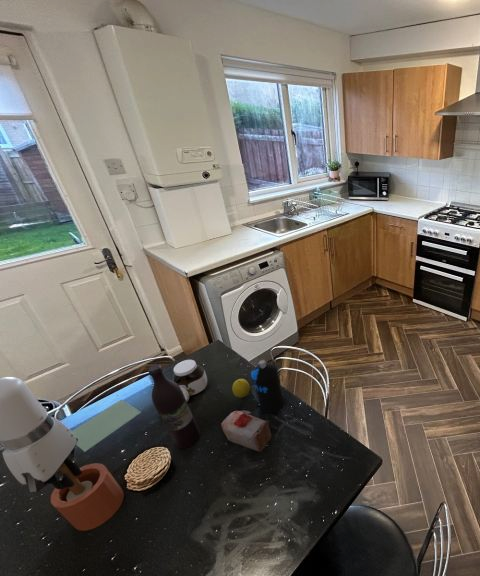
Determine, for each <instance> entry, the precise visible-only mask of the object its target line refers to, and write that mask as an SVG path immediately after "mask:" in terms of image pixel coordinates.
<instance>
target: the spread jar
mask: <svg viewBox="0 0 480 576" xmlns="http://www.w3.org/2000/svg"><path fill="white" fill-rule="evenodd" d="M171 381H173V382H175V383H177V384H178V386H179V387H180V388H181V390H182V392H183V394H184V396H185V399H186V401H187V402H188V401H189V399H190V398H192V397H196V396H198V395H200V394H201V393H203V392H204V390H205V389H206V388H207V386H208V376H207V373H206V370H205V368H204V367H203V366H202V365H201V364H198V363H197V362H196V360H193V359H185V360H182V361H180V362H178V363H177V364H175V366H174V367H173V375H172V378H171Z"/></svg>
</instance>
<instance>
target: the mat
mask: <svg viewBox="0 0 480 576" xmlns="http://www.w3.org/2000/svg"><path fill="white" fill-rule="evenodd" d="M141 413H142V412H141V411H140V410H138V409H137V408H135V407H133V406H132V405H131V404H129V403H128V402H127V401H124V400H123V399H120V400H118V401H117V402H115V403H114V404H112V405H111V406H108V407H107V408H106V409H104V410H103V411H101V412H100V413H98V414H97V415H95V416H94V417H91V418H90V419H89V420H87V421H86V422H84V423H82V424H81V425H79V426H77V427H76V428H75V429H73V430H71V432H72V433H73V434H74V436H75V438H77V439H78V441H77V444H76V446H77V447H78V448H79V449H80V450H82V451H83V452H84V453H86V452H87V451H88V450H90V449H91V448H93V447H94V446H96V445H97V444H99V443H100V442H101V441H103V440H105V439H106V438H107V437H109V436H110V435H111V434H113V433H114V432H115V431H117V430H118V429H120V428H121V427H123V426H124V425H126V424H127V423H128V422H129V421H131V420H133V419H134V418H135V417H137V416H138V415H140V414H141Z"/></svg>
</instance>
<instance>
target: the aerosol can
mask: <svg viewBox="0 0 480 576" xmlns="http://www.w3.org/2000/svg"><path fill="white" fill-rule="evenodd" d="M250 377H251V379H252V381H253V385H254V389H255V392H256V396H257V398H258V403H259V409H260V411H261V412H262V413H263V414H266V415H272V414H275V413H277V412H279V411H280V410H281V409H283V407H284V406H285V398H284V396H283V391H282V387H281V383H280V378H279V373H278V366H277V365H276V364H274V363H272V362H266V360H265V359H261V360H259V361H258V365H256V366H255V367H254V368H253V369H252V371H251V373H250Z"/></svg>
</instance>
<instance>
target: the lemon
mask: <svg viewBox="0 0 480 576" xmlns="http://www.w3.org/2000/svg"><path fill="white" fill-rule="evenodd" d="M231 388H232V393H233V395H234V396H235V397H236V398H239V399H243V398H245V397H247V396H248V395H249V393H250V390H251V386H250V384H249V381H247V379H244V378H239V379H236V380H235V381H234V382H233V384H232V387H231Z"/></svg>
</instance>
